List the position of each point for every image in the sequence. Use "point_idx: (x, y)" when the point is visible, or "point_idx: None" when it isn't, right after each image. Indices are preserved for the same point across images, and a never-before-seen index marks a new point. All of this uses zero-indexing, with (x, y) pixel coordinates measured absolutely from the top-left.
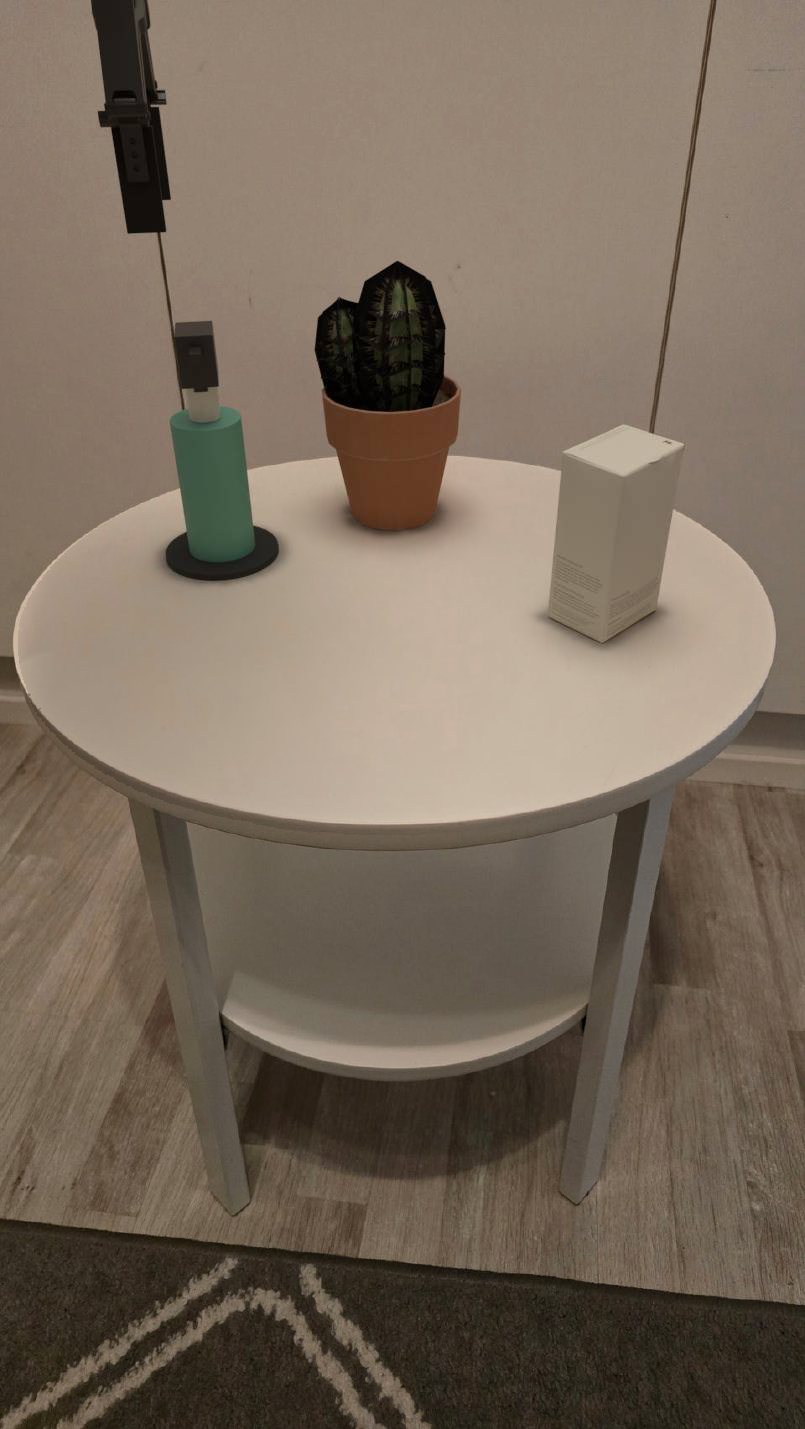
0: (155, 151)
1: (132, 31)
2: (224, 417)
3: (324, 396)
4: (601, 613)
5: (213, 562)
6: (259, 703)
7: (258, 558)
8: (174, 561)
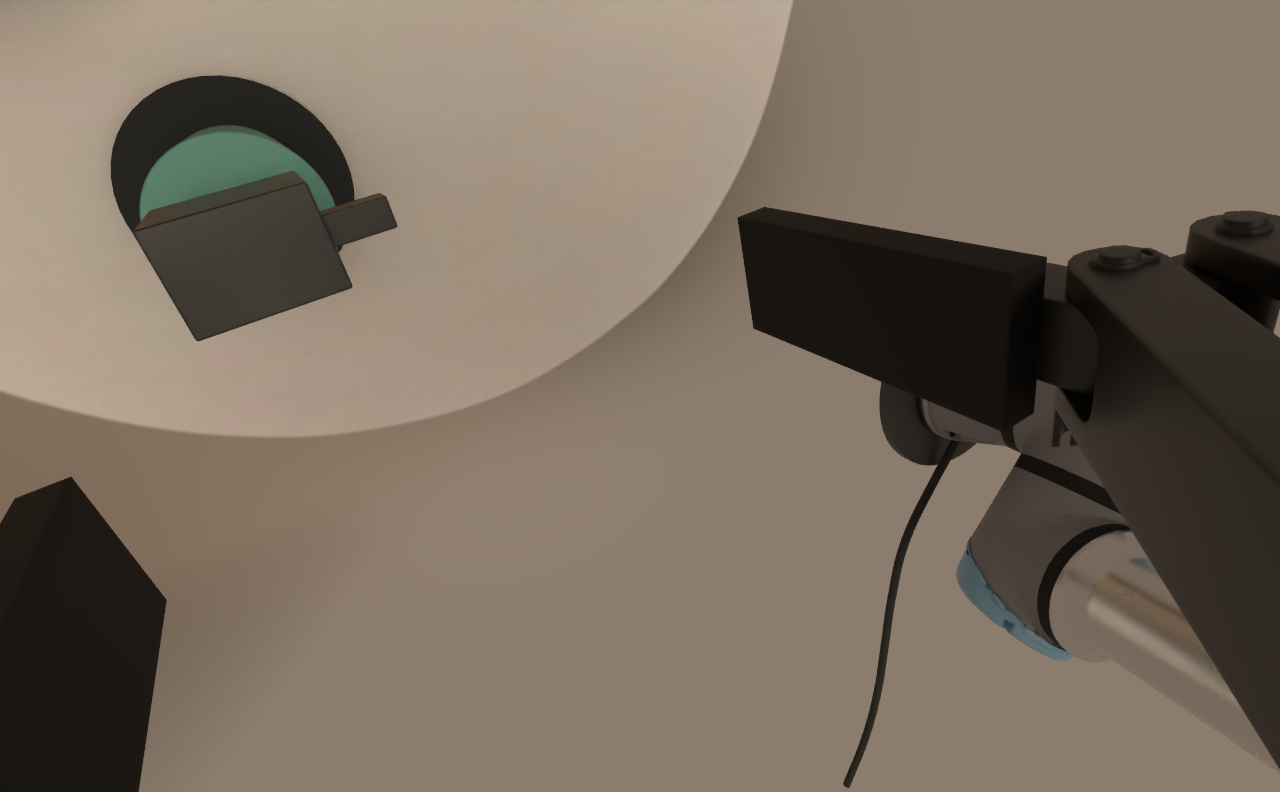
0: (939, 250)
1: None
2: (230, 175)
3: None
4: None
5: None
6: (643, 34)
7: (269, 108)
8: None
